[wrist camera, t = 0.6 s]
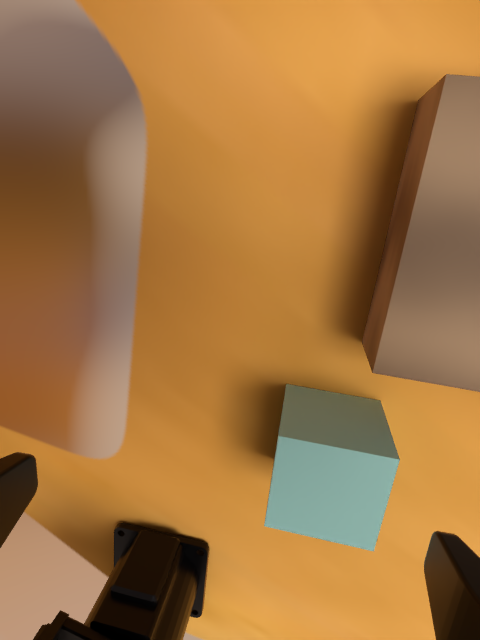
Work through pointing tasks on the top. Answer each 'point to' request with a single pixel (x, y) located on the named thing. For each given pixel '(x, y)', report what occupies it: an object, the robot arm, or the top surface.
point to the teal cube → (331, 467)
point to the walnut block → (433, 248)
